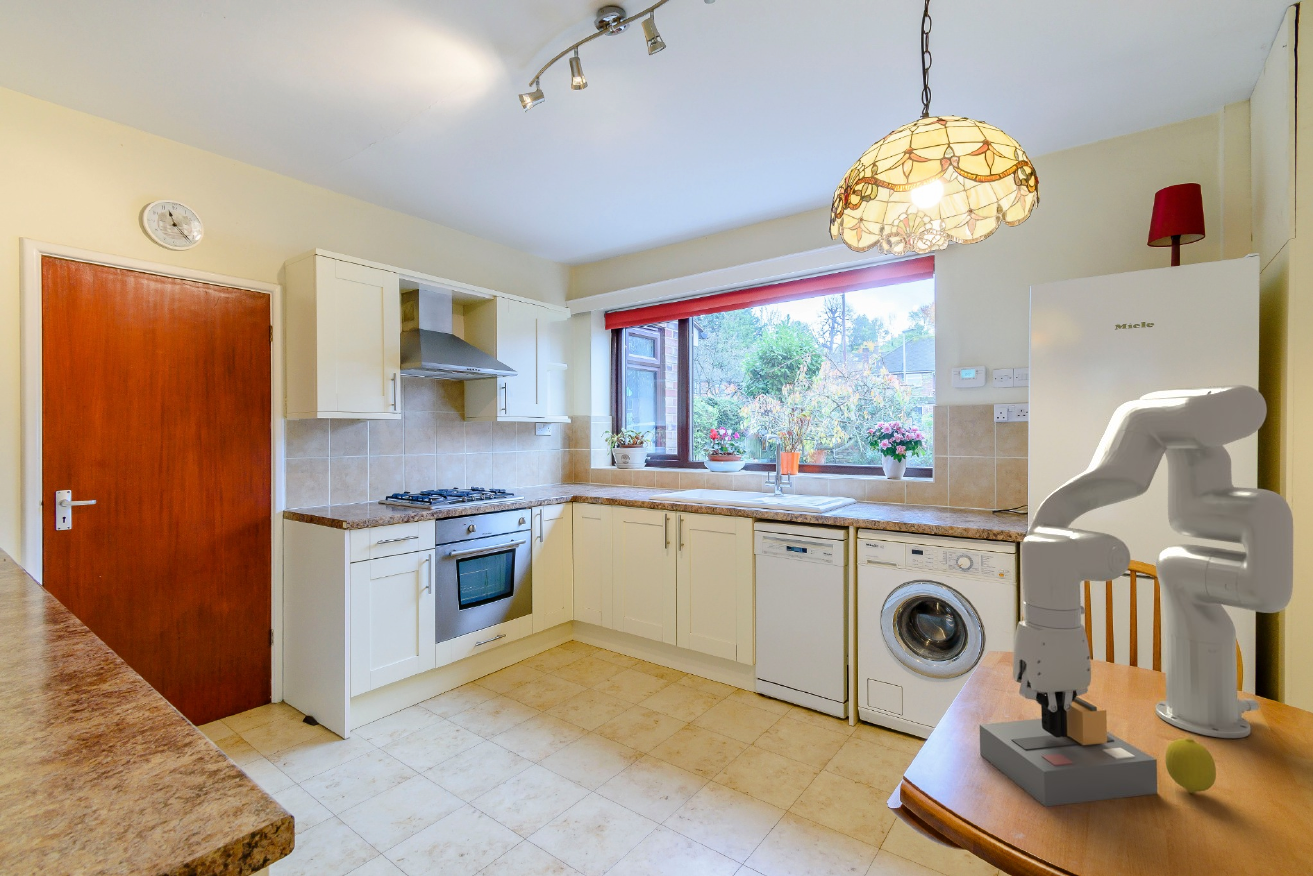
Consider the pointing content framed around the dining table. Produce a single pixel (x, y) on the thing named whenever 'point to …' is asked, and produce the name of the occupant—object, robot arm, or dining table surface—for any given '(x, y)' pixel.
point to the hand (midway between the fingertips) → (1054, 732)
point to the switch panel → (1066, 764)
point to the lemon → (1190, 765)
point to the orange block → (1086, 722)
